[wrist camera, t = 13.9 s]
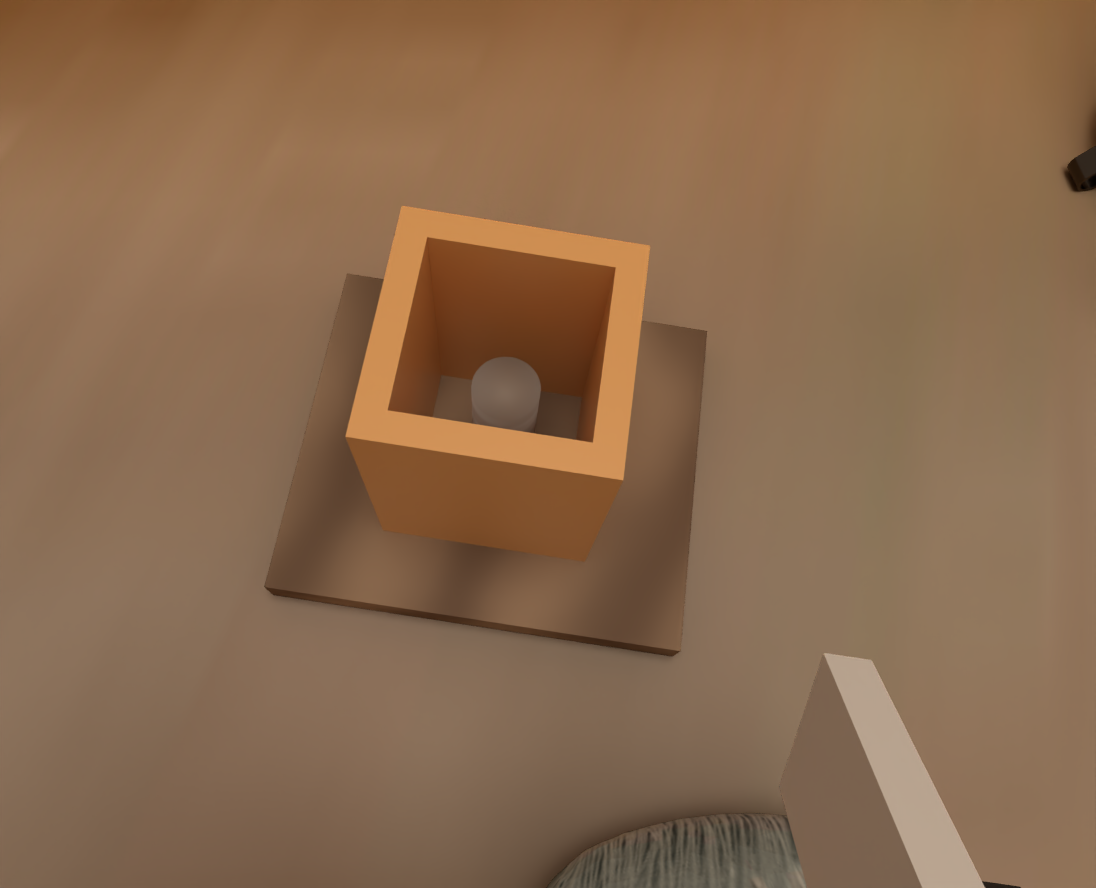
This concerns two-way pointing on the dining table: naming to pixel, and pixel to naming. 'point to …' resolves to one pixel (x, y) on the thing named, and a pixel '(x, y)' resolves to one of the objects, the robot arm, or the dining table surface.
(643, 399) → the shaft stand
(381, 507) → the spacer sleeve
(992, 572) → the dining table surface
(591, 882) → the grey green rounded lump
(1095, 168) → the coffee press
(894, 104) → the dining table surface
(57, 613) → the dining table surface
